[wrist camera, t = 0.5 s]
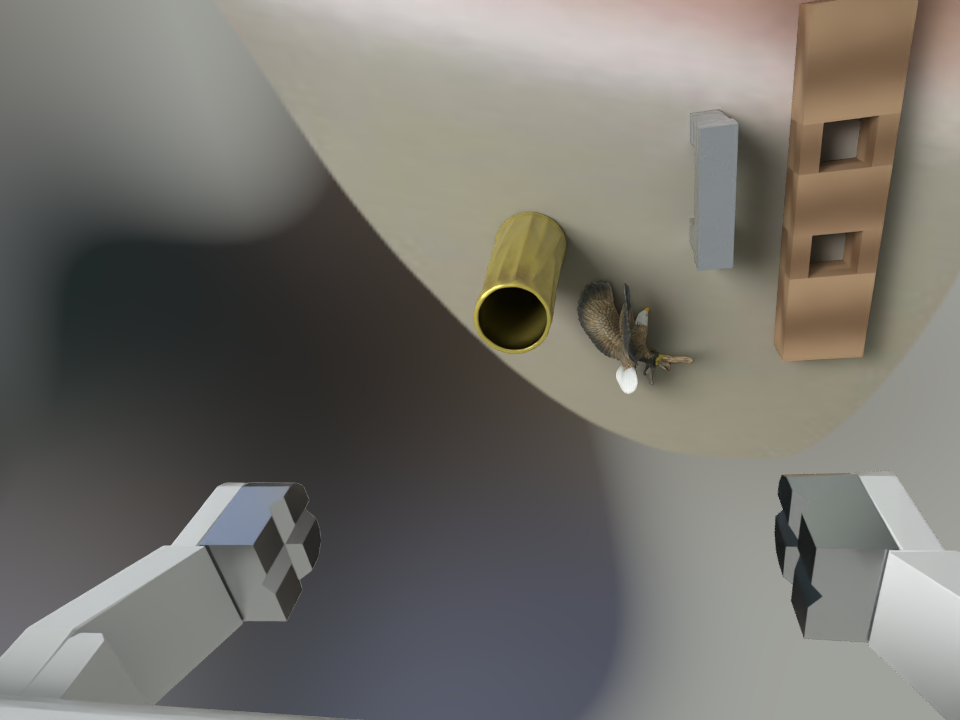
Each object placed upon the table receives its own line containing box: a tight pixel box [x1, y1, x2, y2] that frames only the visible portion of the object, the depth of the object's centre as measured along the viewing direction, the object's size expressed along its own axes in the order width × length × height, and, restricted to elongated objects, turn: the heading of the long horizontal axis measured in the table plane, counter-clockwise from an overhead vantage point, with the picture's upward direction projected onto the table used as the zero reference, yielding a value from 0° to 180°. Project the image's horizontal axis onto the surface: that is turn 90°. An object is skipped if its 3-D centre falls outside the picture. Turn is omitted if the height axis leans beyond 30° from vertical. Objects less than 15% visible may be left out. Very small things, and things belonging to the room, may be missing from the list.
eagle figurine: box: [577, 281, 694, 394], centre depth 53 cm, size 8×7×9 cm
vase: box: [474, 212, 566, 354], centre depth 47 cm, size 6×6×14 cm
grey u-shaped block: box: [690, 109, 739, 271], centre depth 45 cm, size 10×2×6 cm, turn 9°
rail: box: [774, 0, 919, 361], centre depth 46 cm, size 26×6×3 cm, turn 9°
